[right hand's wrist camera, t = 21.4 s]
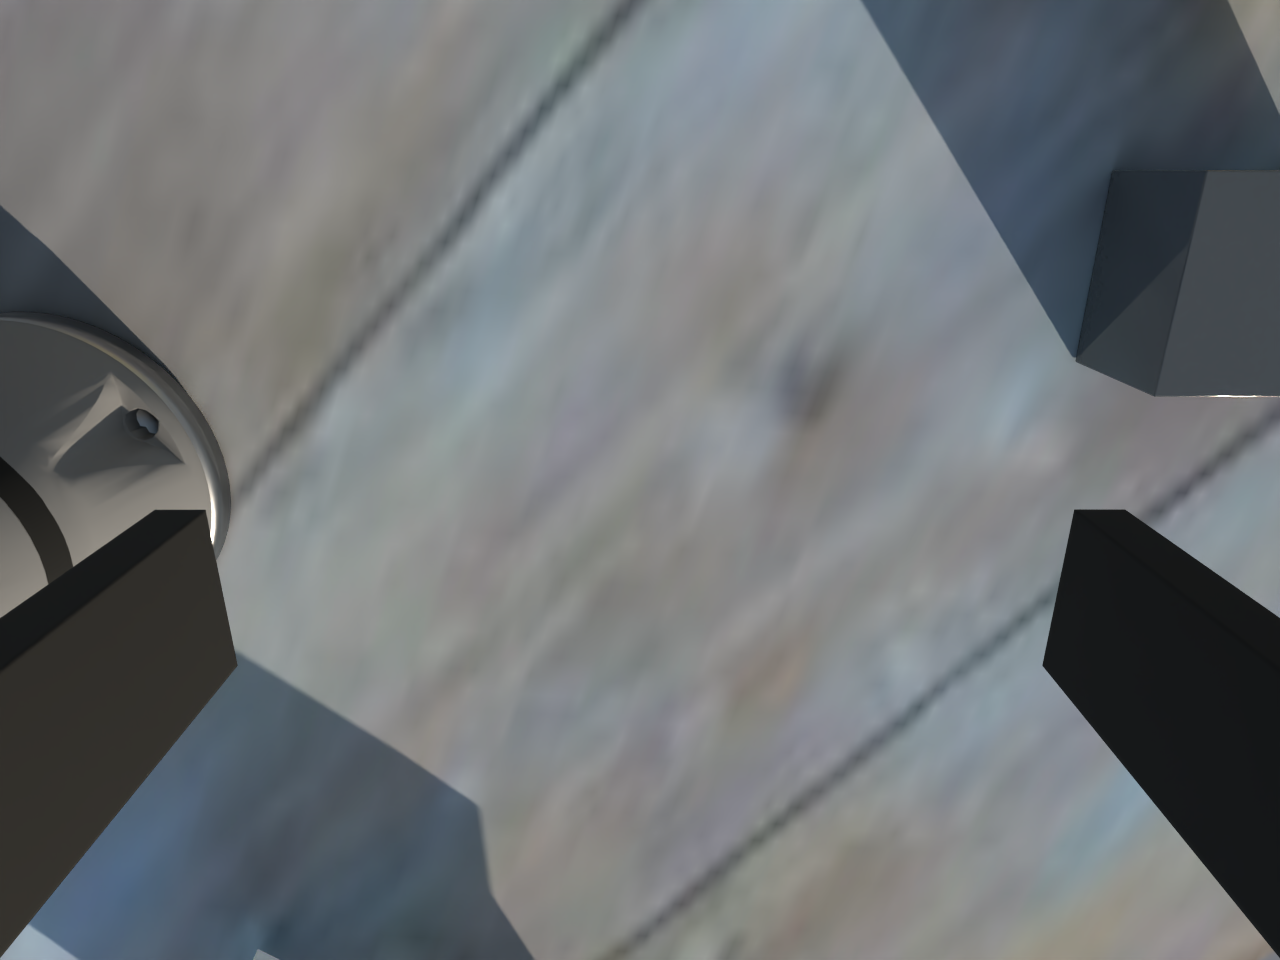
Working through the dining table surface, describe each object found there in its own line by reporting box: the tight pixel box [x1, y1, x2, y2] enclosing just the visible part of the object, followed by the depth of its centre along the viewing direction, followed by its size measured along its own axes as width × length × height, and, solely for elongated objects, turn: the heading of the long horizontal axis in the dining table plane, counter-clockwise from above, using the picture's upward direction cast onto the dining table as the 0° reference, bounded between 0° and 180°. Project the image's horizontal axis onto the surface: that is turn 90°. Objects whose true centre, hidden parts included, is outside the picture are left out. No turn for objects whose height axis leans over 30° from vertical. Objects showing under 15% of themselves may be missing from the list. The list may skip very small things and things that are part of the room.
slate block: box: [1076, 170, 1280, 397], centre depth 32 cm, size 8×8×6 cm
